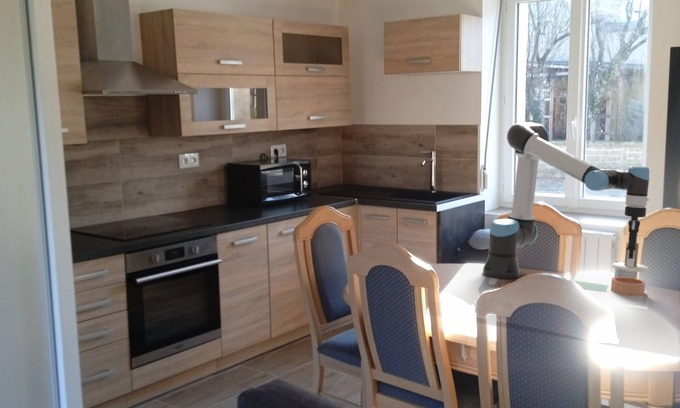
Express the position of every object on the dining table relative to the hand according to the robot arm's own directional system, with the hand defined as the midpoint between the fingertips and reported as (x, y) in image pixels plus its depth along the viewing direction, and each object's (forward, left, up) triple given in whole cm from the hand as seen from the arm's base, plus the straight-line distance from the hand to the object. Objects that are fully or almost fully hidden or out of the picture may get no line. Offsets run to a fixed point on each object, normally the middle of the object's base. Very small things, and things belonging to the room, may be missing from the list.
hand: (630, 265), depth 271 cm
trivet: (-14, 0, -11) cm, 18 cm away
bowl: (0, 0, -11) cm, 11 cm away
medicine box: (-2, +19, -11) cm, 22 cm away
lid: (0, 0, -1) cm, 1 cm away
